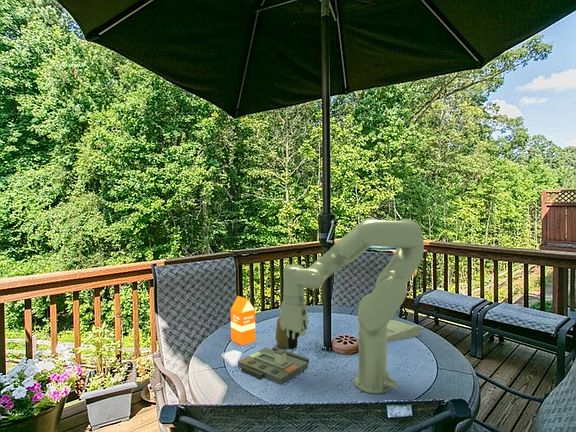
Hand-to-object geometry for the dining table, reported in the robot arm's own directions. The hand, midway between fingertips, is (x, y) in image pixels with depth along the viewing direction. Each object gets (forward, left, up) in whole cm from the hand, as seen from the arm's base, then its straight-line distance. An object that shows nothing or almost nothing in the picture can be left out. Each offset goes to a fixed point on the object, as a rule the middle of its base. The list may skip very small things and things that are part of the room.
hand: (292, 347), depth 131 cm
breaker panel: (+10, 0, -10) cm, 14 cm away
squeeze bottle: (+19, -18, -11) cm, 29 cm away
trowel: (-13, -58, -11) cm, 60 cm away
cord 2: (+10, -11, -10) cm, 18 cm away
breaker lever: (+6, 0, -8) cm, 10 cm away
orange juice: (+38, -11, -11) cm, 41 cm away
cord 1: (+12, +9, -10) cm, 18 cm away
